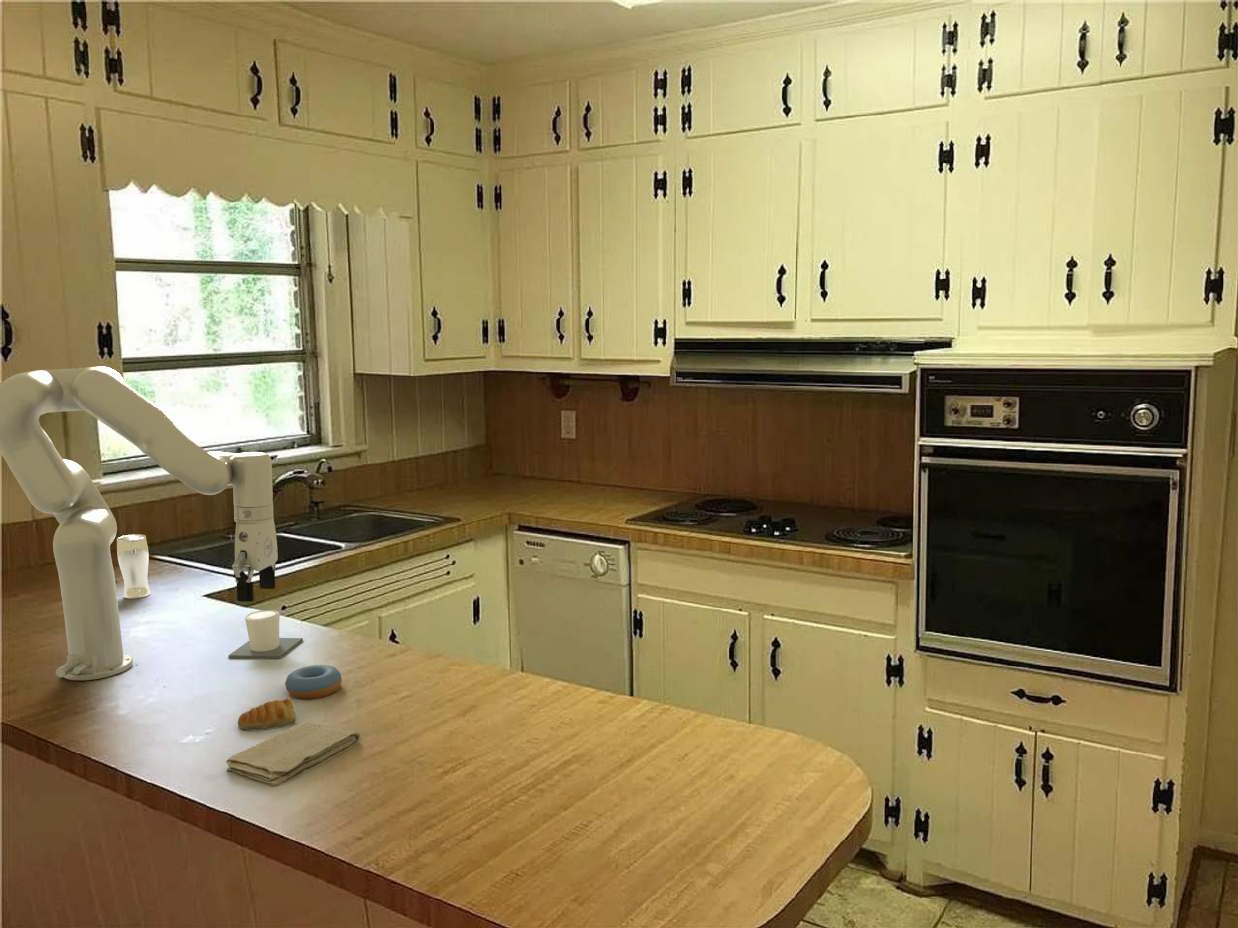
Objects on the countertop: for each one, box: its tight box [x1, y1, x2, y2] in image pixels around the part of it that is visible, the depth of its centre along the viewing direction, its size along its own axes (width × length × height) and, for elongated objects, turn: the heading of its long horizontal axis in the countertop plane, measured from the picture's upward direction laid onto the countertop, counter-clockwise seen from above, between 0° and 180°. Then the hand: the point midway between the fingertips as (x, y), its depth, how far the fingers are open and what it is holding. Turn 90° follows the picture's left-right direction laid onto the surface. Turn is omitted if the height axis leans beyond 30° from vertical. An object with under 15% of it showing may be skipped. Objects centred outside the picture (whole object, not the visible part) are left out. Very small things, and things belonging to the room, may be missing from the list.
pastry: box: [237, 697, 297, 731], centre depth 173 cm, size 9×7×4 cm
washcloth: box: [225, 721, 361, 787], centre depth 159 cm, size 12×18×3 cm, turn 151°
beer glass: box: [116, 533, 152, 600], centre depth 252 cm, size 7×7×15 cm
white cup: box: [244, 609, 281, 652], centre depth 210 cm, size 7×7×7 cm
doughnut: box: [284, 664, 343, 700], centre depth 187 cm, size 10×10×5 cm
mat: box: [228, 637, 304, 660], centre depth 210 cm, size 11×11×1 cm
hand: (256, 594), depth 208 cm, fingers open, 9 cm apart
